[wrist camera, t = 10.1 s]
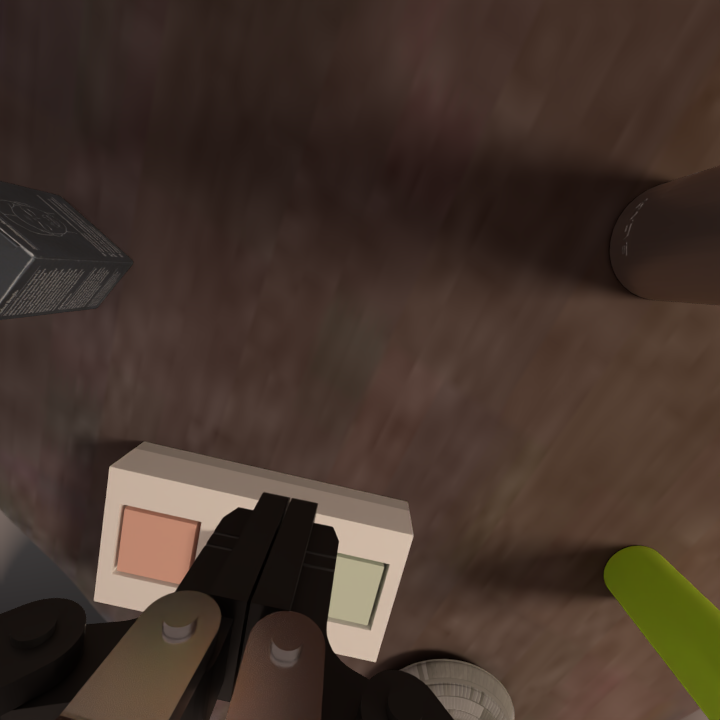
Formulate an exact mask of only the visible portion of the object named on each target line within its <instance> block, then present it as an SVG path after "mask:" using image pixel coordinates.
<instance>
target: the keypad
mask: <svg viewBox="0 0 720 720" xmlns="http://www.w3.org/2000/svg"><path fill="white" fill-rule="evenodd" d="M263 492H266V493H271V494H276V495H281V496H285V497H290V501H291V499H292V498H296V499H300V500H305V501H310V502H315V503H318V507H317V512H316V517H315V522H314V523H318V524H322V525H327V526H332V527H333V528H334V530H335V532H336V535H337V537H338V540H339V545H338V552H337V553H342V554H346V555H351V556H355V557H360V558H364V559H369V560H373V561H378V562H382V563H384V569H383V573H382V576H381V580H380V583H379V587H378V590H377V594H376V597H375V601H374V604H373V608H372V611H371V615H370V618H369V622H368V625H363V624H358V623H354V622H349V621H345V620H340V619H336V618H331V617H328V621H327V637H328V640H329V643H330V646H331V648H332V650H333V651H334V653H336V654H340V655H345V656H350V657H354V658H359V659H363V660H368V661H372V662H376V659H377V656H378V653H379V649H380V646H381V643H382V639H383V636H384V633H385V629H386V626H387V623H388V619H389V616H390V613H391V609H392V606H393V603H394V599H395V596H396V593H397V589H398V586H399V583H400V579H401V576H402V573H403V569H404V566H405V563H406V559H407V556H408V553H409V549H410V546H411V543H412V539H413V536H414V535H413V529H412V523H411V517H410V512H409V506H408V502H407V501H402V500H398V499H393V498H389V497H385V496H380V495H376V494H372V493H367V492H363V491H358V490H354V489H350V488H345V487H341V486H337V485H332V484H328V483H324V482H319V481H315V480H310V479H306V478H302V477H297V476H293V475H289V474H284V473H280V472H275V471H271V470H267V469H262V468H258V467H254V466H249V465H245V464H240V463H236V462H232V461H227V460H223V459H219V458H214V457H210V456H205V455H201V454H197V453H192V452H188V451H184V450H179V449H175V448H170V447H166V446H162V445H157V444H153V443H149V442H143V443H141V444H140V445H139V446H137V447H136V448H134V449H133V450H132V451H130V452H129V453H128V454H126V455H125V456H123V457H122V458H121V459H119V460H118V461H116V462H115V463H114V464H112V465H111V466H110V467H109V475H108V484H107V493H106V501H105V510H104V518H103V527H102V536H101V544H100V553H99V561H98V570H97V579H96V587H95V596H94V601H97V602H101V603H106V604H111V605H115V606H120V607H124V608H129V609H133V610H138V611H143V612H144V610H145V609H146V608H147V607H148V606H149V605H151V604H152V603H153V602H154V601H156V600H157V599H159V598H161V597H163V596H165V595H167V594H170V593H173V592H175V591H176V589H177V588H178V586H179V584H176V583H171V582H167V581H162V580H157V579H153V578H148V577H144V576H139V575H135V574H130V573H126V572H121V571H117V564H118V557H119V549H120V541H121V533H122V525H123V517H124V510H125V508H126V507H127V506H132V507H137V508H141V509H146V510H150V511H155V512H159V513H163V514H168V515H172V516H177V517H181V518H186V519H190V520H195V521H199V522H202V523H201V528H200V534H199V540H198V546H197V551H196V557H195V560H196V558H197V557H198V555H199V554H200V552H201V551H202V549H203V547H204V546H206V543H207V541H208V540H209V538H210V537H211V535H212V534H213V533H214V530H215V529H216V527H217V526H218V524H219V523H220V521H221V520H222V518H223V517H224V516H226V515H227V514H229V513H230V512H232V511H233V510H235V509H236V508H238V507H240V508H245V509H250V510H254V508H255V506H256V504H257V502H258V501H259V499H260V497H261V495H262V493H263Z"/></svg>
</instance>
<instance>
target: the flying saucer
mask: <svg viewBox="0 0 720 720" xmlns="http://www.w3.org/2000/svg"><path fill="white" fill-rule="evenodd" d="M399 671H404V672H407V673H410V674H412V675H414V676H415V677H417V678H418V679H420V680H421V681H423V682H424V683H425V684H426V685H427V686H428V687H429V688H430V689H431V691H432V692H433V693H434V694H435V696H436V697H437V698H438V699H439V701H440V702H441V703H442V705H443V706H444V707H445V709H446V710H447V711H448V713H449V714H450V715H451V716H452V718H453V719H454V720H514V719H515V713H514V706H513V703H512V700H511V697H510V695H509V693H508V692H507V690H506V688H505V687H504V686H503V685H502V683H501V682H500V681H499V680H498V679H497V678H496V677H494V676H493V675H492V674H490V673H489V672H487V671H486V670H484V669H482V668H480V667H478V666H476V665H473V664H471V663H468V662H464V661H460V660H453V659H431V660H425V661H421V662H417V663H414V664H411V665H409V666H406V667H404V668H402V669H401V670H399Z"/></svg>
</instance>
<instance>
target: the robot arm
mask: <svg viewBox="0 0 720 720" xmlns="http://www.w3.org/2000/svg"><path fill="white" fill-rule="evenodd" d="M610 259H611V265H612V268H613V270H614V272H615V275H616V277H617V278H618V280H619V281H620V282H621V284H622V285H623V286H624V287H625V288H626V289H628V290H629V291H630V292H631V293H633V294H635V295H637V296H639V297H641V298H645V299H650V300H657V301H670V302H684V303H694V304H707V305H720V166H717V167H714V168H711V169H708V170H704V171H701V172H698V173H695V174H692V175H688V176H685V177H682V178H679V179H676V180H673V181H670V182H667V183H664V184H661V185H658V186H656V187H653V188H651V189H648V190H646V191H645V192H643V193H642V194H640V195H639V196H637V197H636V198H635V199H634V200H633V201H632V202H631V203H630V204H629V205H628V206H627V207H626V208H625V209H624V211H623V212H622V214H621V215H620V216H619V218H618V220H617V222H616V225H615V227H614V229H613V232H612V236H611V240H610ZM317 507H318V503H315V502H310V501H305V500H300V499H296V498H292V499H291V501H290V497H285V496H281V495H276V494H271V493H266V492H263V493H262V495H261V497H260V499H259V501H258V502H257V504H256V506H255V508H254V510H250V509H245V508H240V507H238V508H236V509H235V510H233V511H232V512H230V513H229V514H227V515H226V516H224V517H223V518H222V520H221V521H220V523H219V524H218V526H217V527H216V529H215V530H214V533H213V534H212V535H211V537H210V538H209V540H208V541H207V543H206V546H204V547H203V549H202V551H201V552H200V554H199V555H198V557H197V558H196V560H195V561H194V563H193V564H192V566H191V567H190V569H189V571H188V572H187V574H186V575H185V577H184V578H183V580H182V581H181V583H180V584H179V586H178V588H177V589H176V591H175V592H173V593H170V594H167V595H165V596H163V597H161V598H159V599H157V600H156V601H154V602H153V603H152V604H151V605H149V606H148V607H147V608H146V609H145V610H144V612H143V613H142V614H141V615H140V617H139V618H136V619H132V620H127V621H120V622H109V623H97V624H86V614H85V611H84V610H83V608H82V607H81V606H80V605H79V604H77V603H76V602H74V601H72V600H68V599H61V598H51V599H43V600H38V601H34V602H31V603H28V604H25V605H22V606H20V607H17V608H15V609H12V610H10V611H7V612H5V613H2V614H0V720H209V719H210V716H211V714H212V711H213V708H214V706H215V703H216V701H217V699H218V700H223V701H228V702H230V701H231V703H230V707H229V710H228V714H227V718H226V720H454V719H453V718H452V716H451V715H450V714H449V713H448V711H447V710H446V709H445V707H444V706H443V705H442V703H441V702H440V701H439V699H438V698H437V697H436V696H435V694H434V693H433V692H432V691H431V689H430V688H429V687H428V686H427V685H426V684H425V683H424V682H423V681H421V680H420V679H418V678H417V677H415V676H414V675H412V674H410V673H407V672H404V671H399V670H386V671H382V672H380V673H378V674H376V675H375V676H373V677H372V678H371V679H370V680H369V679H367V678H366V677H364V676H362V675H360V674H359V673H357V672H355V671H354V670H352V669H350V668H349V667H348V666H346V665H345V664H344V663H343V662H342V661H341V660H340V659H339V658H338V657H337V656H336V654H335V653H334V651H333V650H332V648H331V646H330V643H329V640H328V637H327V621H328V614H329V607H330V600H331V593H332V586H333V580H334V572H335V566H336V558H337V552H338V545H339V540H338V537H337V535H336V532H335V530H334V528H333V527H332V526H327V525H322V524H318V523H314V522H315V517H316V512H317ZM232 695H233V696H232ZM231 698H232V699H231Z"/></svg>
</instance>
